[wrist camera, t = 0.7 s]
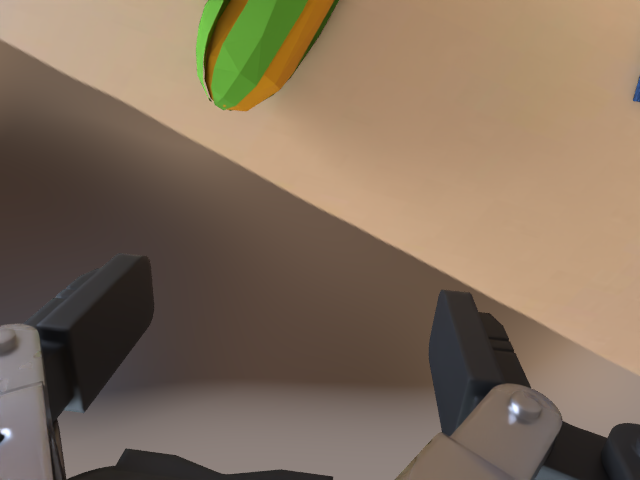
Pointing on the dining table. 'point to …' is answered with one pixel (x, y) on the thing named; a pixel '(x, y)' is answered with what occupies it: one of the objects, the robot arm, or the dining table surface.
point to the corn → (255, 46)
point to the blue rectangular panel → (637, 92)
